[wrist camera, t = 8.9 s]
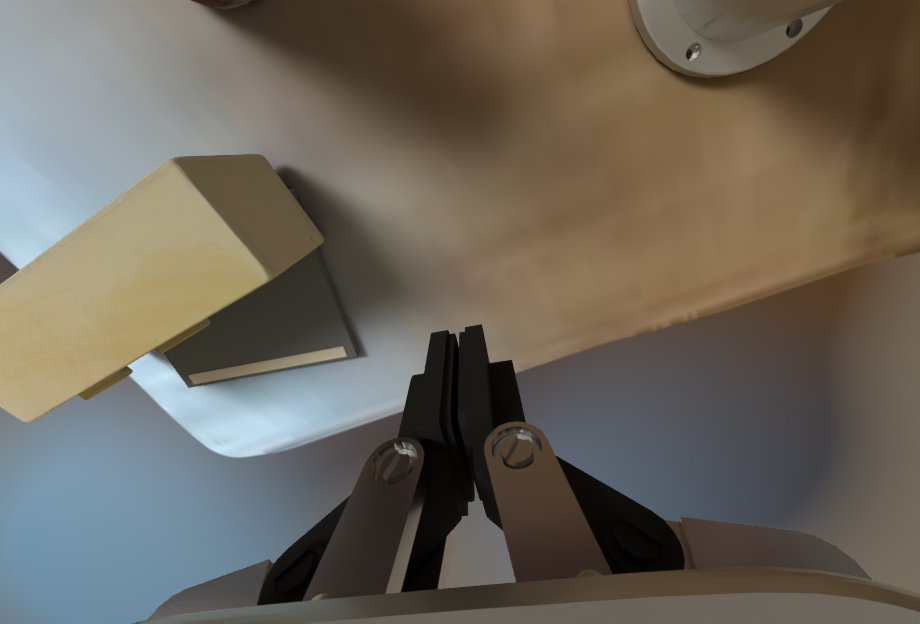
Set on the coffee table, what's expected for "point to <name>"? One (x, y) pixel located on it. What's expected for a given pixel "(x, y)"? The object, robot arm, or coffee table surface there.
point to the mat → (270, 329)
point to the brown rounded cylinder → (223, 3)
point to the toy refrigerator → (144, 276)
